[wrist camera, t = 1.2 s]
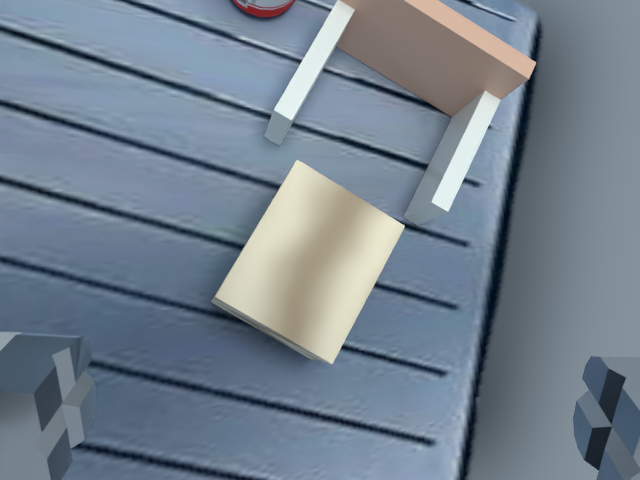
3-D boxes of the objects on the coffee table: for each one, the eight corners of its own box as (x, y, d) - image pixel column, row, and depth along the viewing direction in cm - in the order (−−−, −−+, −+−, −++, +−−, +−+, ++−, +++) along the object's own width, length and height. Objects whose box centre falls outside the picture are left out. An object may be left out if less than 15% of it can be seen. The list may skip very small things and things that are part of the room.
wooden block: (210, 302, 45) (214, 296, 38) (280, 185, 48) (297, 159, 40) (309, 359, 46) (332, 364, 39) (373, 241, 49) (405, 225, 41)
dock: (263, 136, 48) (282, 87, 38) (329, 24, 51) (361, -48, 41) (417, 225, 50) (472, 200, 40) (472, 112, 52) (536, 62, 43)
